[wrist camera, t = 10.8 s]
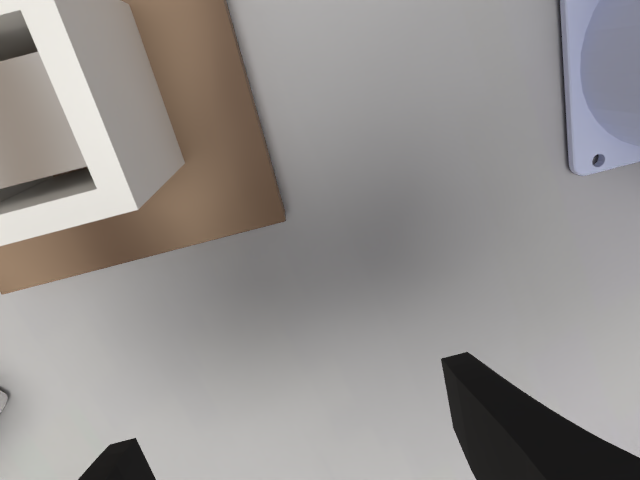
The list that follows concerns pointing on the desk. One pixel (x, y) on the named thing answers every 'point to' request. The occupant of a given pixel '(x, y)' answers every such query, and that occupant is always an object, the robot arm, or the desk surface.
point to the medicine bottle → (2, 400)
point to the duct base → (191, 133)
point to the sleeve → (90, 114)
